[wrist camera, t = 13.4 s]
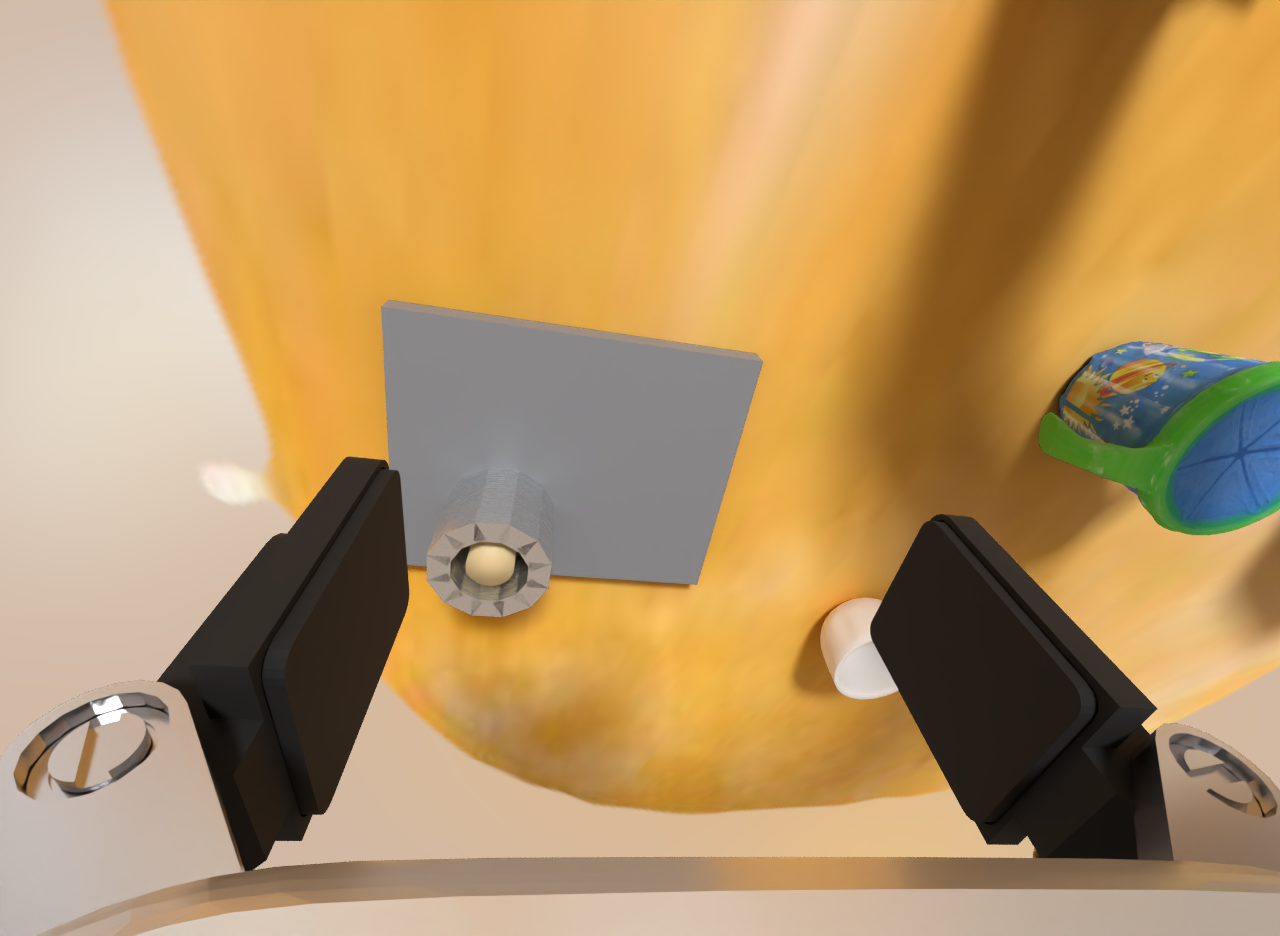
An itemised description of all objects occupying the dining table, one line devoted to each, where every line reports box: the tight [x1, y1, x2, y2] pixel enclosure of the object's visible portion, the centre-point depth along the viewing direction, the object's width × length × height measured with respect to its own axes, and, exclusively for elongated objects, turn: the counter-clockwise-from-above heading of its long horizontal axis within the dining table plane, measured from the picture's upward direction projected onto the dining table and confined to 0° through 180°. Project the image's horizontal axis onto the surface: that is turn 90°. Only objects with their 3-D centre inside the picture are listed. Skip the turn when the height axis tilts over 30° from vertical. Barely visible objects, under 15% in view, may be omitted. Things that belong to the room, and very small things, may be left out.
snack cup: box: [1038, 341, 1280, 535], centre depth 35 cm, size 16×10×10 cm
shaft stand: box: [381, 300, 763, 586], centre depth 34 cm, size 22×18×7 cm
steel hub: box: [427, 468, 555, 617], centre depth 35 cm, size 7×7×6 cm
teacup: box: [820, 597, 899, 699], centre depth 46 cm, size 10×8×5 cm
